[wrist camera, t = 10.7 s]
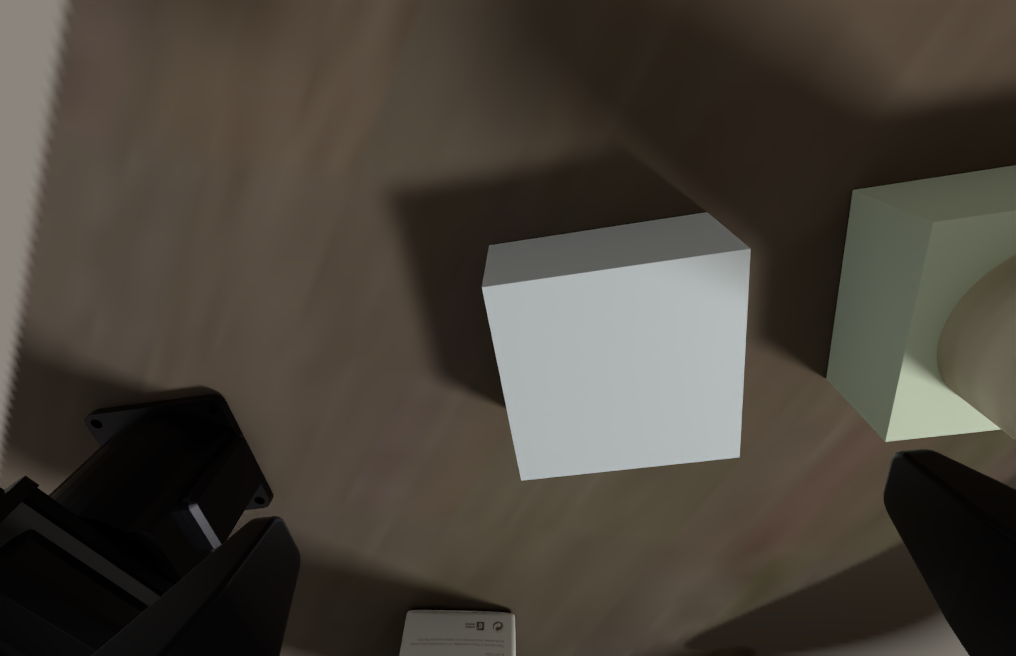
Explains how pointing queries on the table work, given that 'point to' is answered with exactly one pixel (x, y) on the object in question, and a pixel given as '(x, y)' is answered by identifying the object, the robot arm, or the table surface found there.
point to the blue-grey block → (621, 344)
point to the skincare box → (458, 633)
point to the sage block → (915, 295)
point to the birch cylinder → (984, 347)
